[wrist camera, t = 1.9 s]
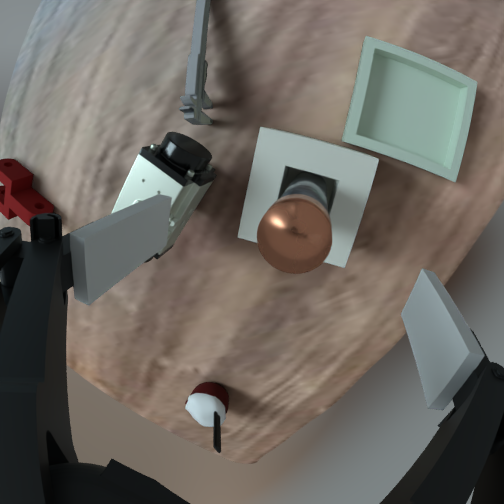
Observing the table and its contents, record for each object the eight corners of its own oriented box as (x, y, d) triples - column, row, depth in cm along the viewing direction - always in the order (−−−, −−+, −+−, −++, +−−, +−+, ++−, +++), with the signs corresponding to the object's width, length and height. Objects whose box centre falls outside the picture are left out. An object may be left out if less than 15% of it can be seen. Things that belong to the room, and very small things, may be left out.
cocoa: (194, 394, 48) (164, 448, 37) (188, 370, 45) (153, 426, 34) (247, 407, 45) (223, 466, 35) (246, 383, 43) (219, 447, 32)
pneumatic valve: (155, 212, 36) (91, 248, 25) (203, 129, 30) (142, 131, 20) (190, 239, 36) (136, 286, 25) (244, 158, 31) (200, 173, 20)
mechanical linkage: (8, 191, 42) (-12, 198, 37) (12, 156, 39) (-9, 162, 34) (55, 233, 42) (34, 244, 37) (62, 195, 38) (38, 204, 34)
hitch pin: (293, 164, 29) (265, 192, 15) (333, 175, 28) (341, 214, 15) (284, 202, 30) (250, 261, 17) (322, 212, 30) (319, 281, 16)
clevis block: (272, 128, 29) (260, 126, 23) (368, 154, 28) (379, 159, 22) (252, 219, 33) (237, 237, 28) (341, 244, 32) (344, 267, 26)
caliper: (214, 124, 30) (190, 123, 25) (204, 125, 31) (179, 124, 25) (213, -32, 23) (193, -55, 17) (204, -30, 23) (182, -53, 17)
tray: (363, 43, 23) (366, 35, 21) (467, 84, 22) (477, 82, 19) (341, 140, 28) (343, 141, 26) (446, 178, 26) (455, 182, 24)
